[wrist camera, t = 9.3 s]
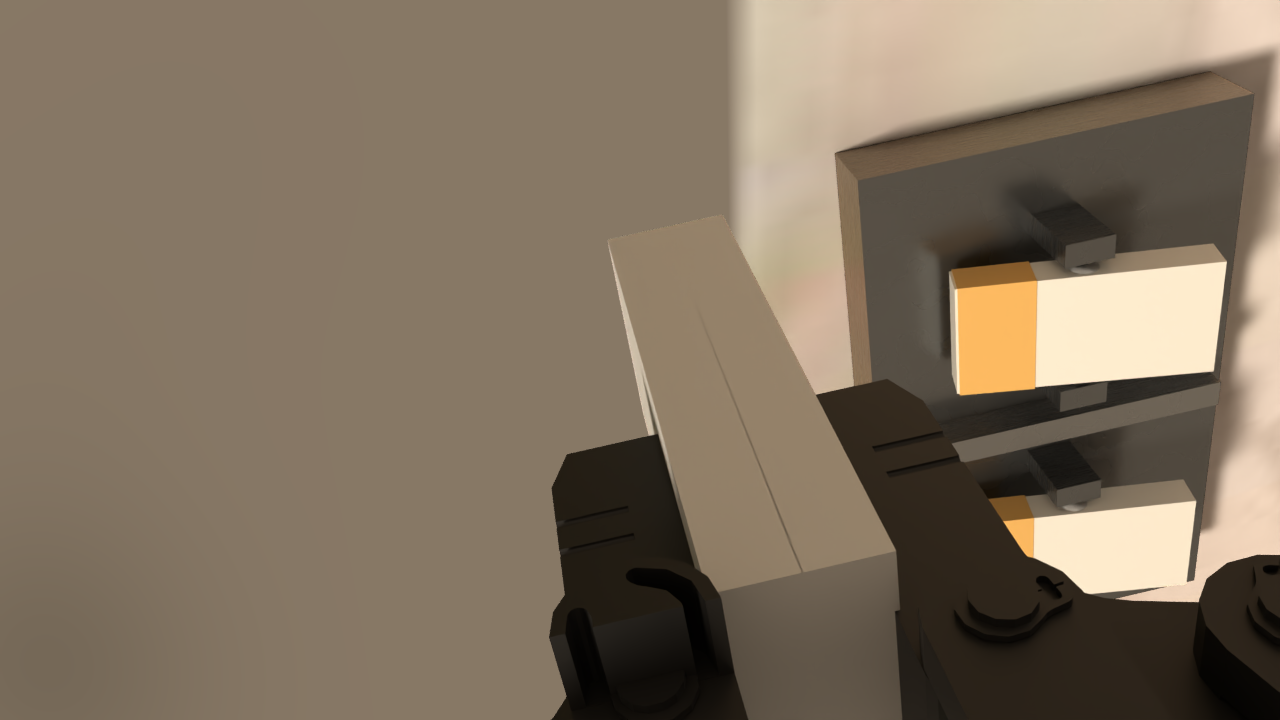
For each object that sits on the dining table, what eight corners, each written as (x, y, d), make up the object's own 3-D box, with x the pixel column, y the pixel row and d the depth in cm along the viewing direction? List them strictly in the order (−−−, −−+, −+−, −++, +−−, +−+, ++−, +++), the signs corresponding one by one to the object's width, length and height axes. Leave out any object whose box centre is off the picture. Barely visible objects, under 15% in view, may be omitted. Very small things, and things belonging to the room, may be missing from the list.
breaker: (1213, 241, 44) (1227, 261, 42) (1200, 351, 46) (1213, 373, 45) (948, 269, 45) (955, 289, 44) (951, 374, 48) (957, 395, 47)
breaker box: (1210, 71, 46) (1304, 118, 41) (1162, 542, 60) (1228, 621, 55) (835, 153, 46) (882, 211, 41) (872, 609, 60) (912, 695, 54)
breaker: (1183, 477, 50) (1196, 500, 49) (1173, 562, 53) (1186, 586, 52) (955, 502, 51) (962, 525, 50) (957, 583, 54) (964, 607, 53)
